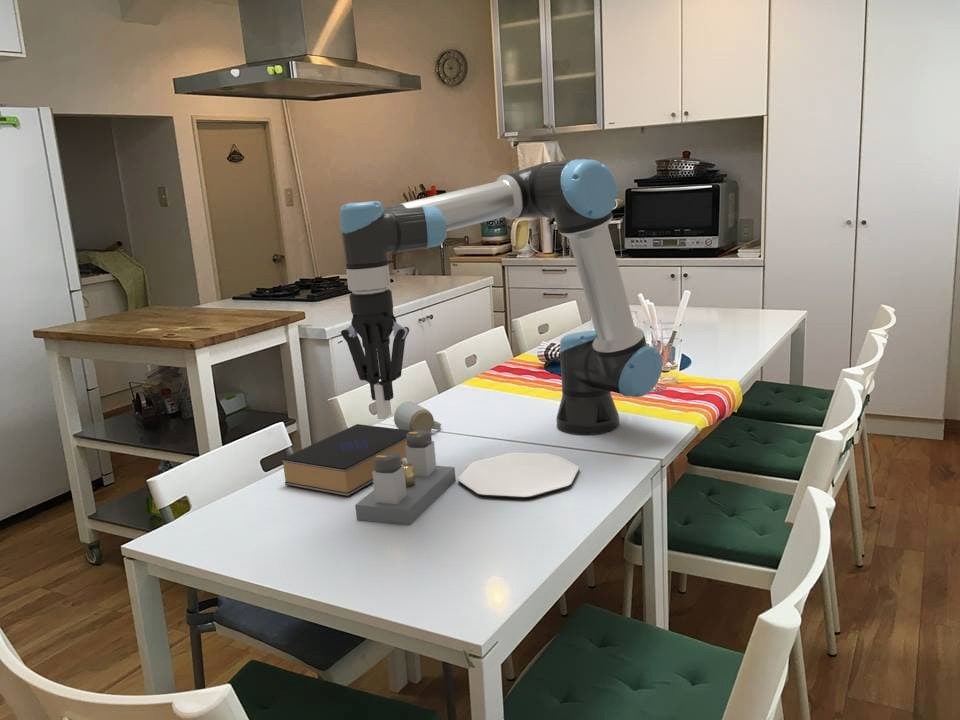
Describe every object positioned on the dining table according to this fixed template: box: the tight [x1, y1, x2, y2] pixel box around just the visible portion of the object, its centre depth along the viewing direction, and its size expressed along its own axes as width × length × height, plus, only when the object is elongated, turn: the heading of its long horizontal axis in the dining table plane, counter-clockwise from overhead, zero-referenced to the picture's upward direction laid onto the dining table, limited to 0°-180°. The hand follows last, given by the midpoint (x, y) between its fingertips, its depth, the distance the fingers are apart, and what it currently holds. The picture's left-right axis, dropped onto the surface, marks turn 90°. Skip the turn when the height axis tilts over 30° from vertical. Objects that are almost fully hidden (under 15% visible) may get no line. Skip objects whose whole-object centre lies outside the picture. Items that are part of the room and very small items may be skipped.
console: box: [354, 441, 456, 526], centre depth 159 cm, size 11×22×9 cm, turn 159°
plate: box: [457, 452, 580, 499], centre depth 167 cm, size 24×24×2 cm
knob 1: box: [374, 453, 401, 473], centre depth 152 cm, size 5×5×8 cm
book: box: [281, 423, 412, 497], centre depth 177 cm, size 17×25×7 cm
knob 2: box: [406, 430, 432, 447], centre depth 164 cm, size 5×5×8 cm
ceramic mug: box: [393, 401, 442, 432], centre depth 200 cm, size 11×8×8 cm
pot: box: [401, 458, 415, 488], centre depth 158 cm, size 3×3×6 cm
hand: (384, 416), depth 149 cm, fingers closed
